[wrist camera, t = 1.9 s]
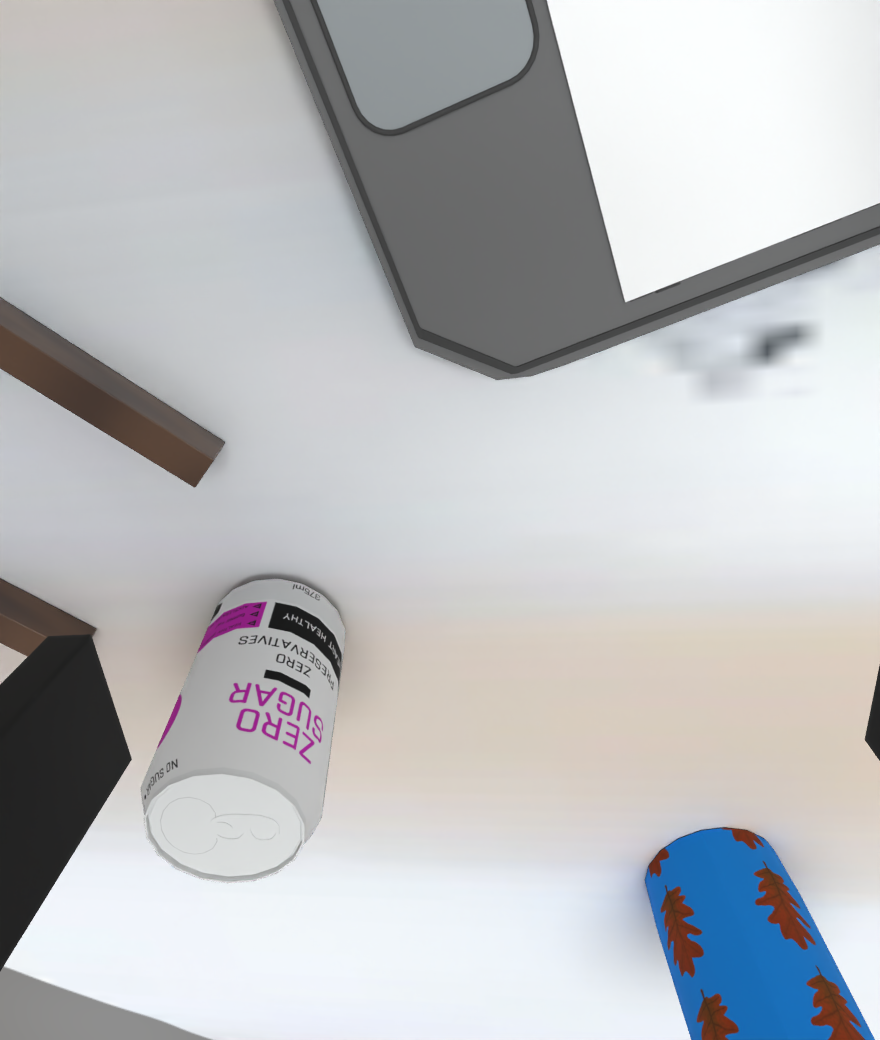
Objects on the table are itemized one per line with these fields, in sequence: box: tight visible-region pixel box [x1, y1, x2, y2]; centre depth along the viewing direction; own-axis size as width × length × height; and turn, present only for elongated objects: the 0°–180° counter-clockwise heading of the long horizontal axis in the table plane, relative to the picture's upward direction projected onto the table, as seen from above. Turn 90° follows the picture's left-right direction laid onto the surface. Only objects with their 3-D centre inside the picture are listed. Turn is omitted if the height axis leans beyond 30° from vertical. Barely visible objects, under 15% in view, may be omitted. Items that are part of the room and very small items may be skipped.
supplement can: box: [141, 579, 345, 883], centre depth 38 cm, size 8×8×15 cm
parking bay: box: [0, 298, 225, 656], centre depth 39 cm, size 14×18×2 cm
